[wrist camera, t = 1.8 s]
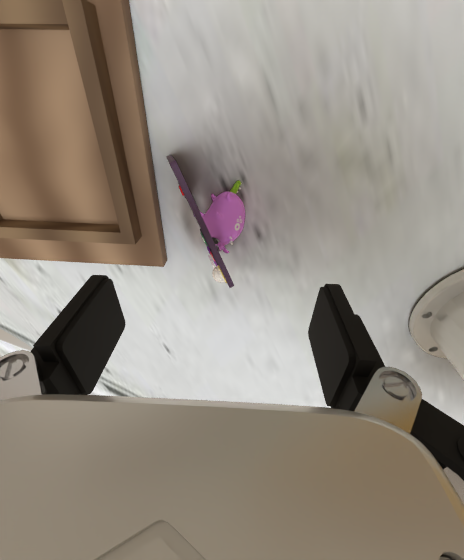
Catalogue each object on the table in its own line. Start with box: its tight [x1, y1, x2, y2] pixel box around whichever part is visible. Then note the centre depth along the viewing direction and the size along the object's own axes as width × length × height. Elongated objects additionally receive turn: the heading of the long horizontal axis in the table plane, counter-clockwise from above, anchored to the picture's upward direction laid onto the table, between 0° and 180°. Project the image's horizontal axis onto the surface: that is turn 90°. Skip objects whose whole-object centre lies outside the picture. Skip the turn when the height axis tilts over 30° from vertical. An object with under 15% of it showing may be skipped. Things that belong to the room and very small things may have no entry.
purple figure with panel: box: [167, 155, 245, 288], centre depth 19 cm, size 7×5×9 cm
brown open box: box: [0, 0, 167, 267], centre depth 19 cm, size 16×20×3 cm
